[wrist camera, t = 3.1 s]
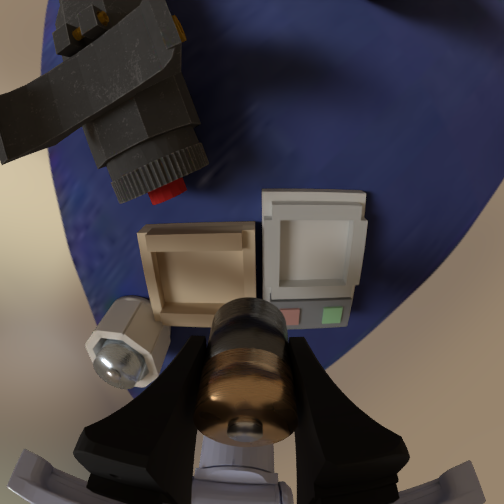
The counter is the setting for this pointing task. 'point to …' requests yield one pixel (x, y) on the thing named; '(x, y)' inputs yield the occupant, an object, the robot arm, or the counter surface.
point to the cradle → (312, 253)
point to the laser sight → (113, 97)
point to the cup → (134, 334)
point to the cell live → (247, 377)
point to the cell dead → (118, 364)
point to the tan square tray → (197, 268)
